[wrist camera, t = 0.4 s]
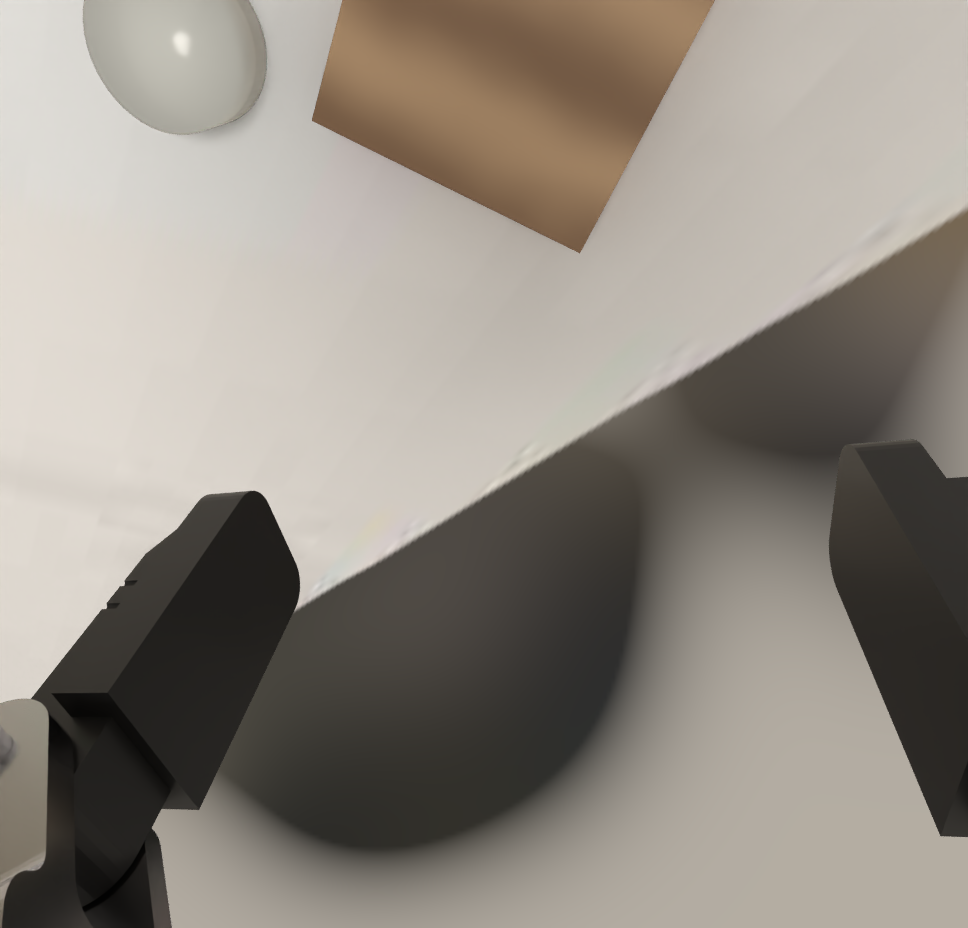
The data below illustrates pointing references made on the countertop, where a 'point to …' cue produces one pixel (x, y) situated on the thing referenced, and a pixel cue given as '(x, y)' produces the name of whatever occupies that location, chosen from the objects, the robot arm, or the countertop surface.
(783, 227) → the countertop surface
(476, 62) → the walnut block
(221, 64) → the pale grey round piece
